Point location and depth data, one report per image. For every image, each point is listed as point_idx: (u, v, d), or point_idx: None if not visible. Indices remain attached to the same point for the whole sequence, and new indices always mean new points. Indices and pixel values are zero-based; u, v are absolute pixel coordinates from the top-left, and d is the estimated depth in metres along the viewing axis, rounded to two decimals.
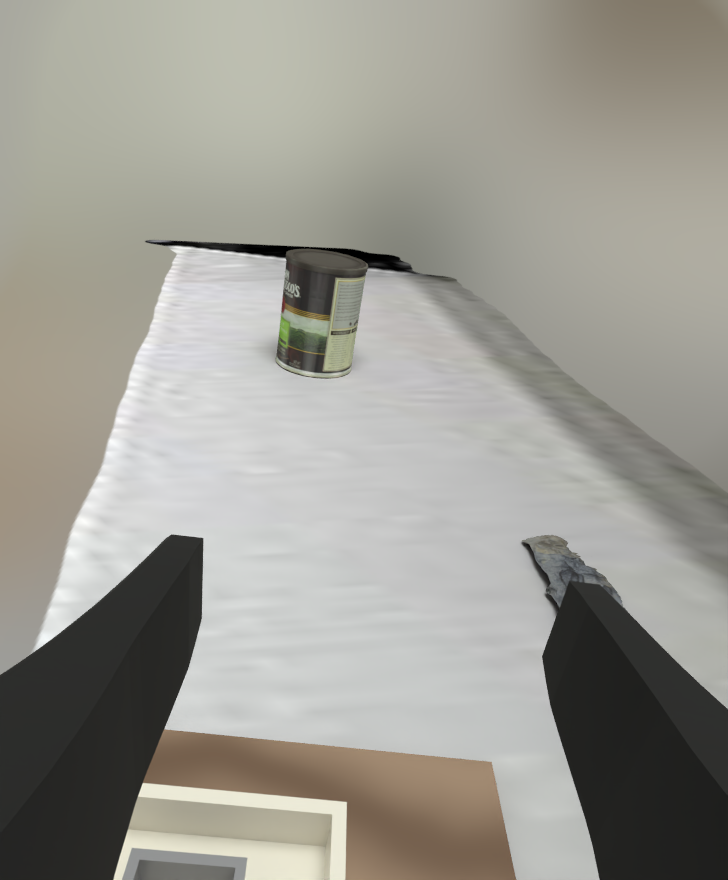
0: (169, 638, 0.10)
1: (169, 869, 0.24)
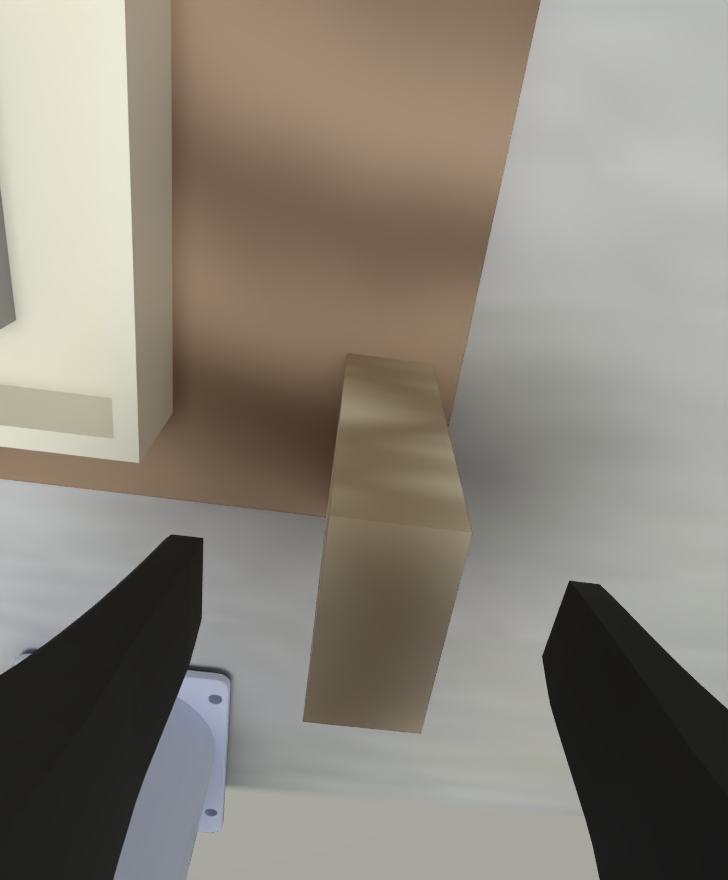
0: (168, 638, 0.10)
1: None
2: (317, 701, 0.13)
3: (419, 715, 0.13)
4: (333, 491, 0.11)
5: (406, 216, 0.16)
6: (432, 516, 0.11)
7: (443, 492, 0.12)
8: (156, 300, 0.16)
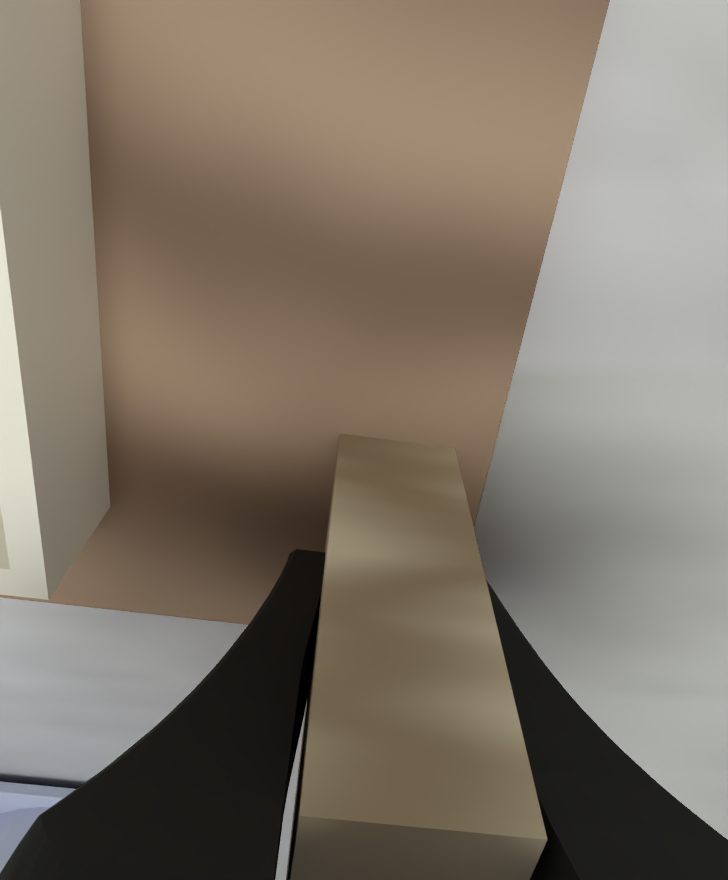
0: (310, 653, 0.11)
1: None
2: None
3: None
4: (308, 744, 0.07)
5: (421, 254, 0.11)
6: (475, 796, 0.06)
7: (489, 729, 0.07)
8: (70, 374, 0.11)
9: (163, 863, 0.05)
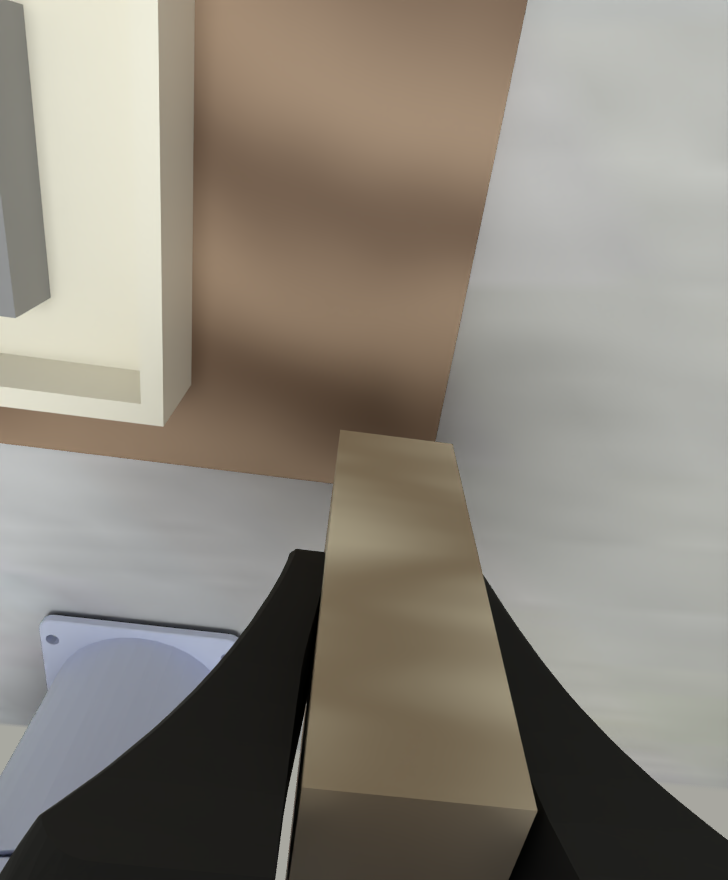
0: (310, 654, 0.11)
1: None
2: None
3: None
4: (310, 721, 0.07)
5: (405, 203, 0.18)
6: (470, 770, 0.07)
7: (483, 709, 0.08)
8: (179, 278, 0.17)
9: (163, 863, 0.05)
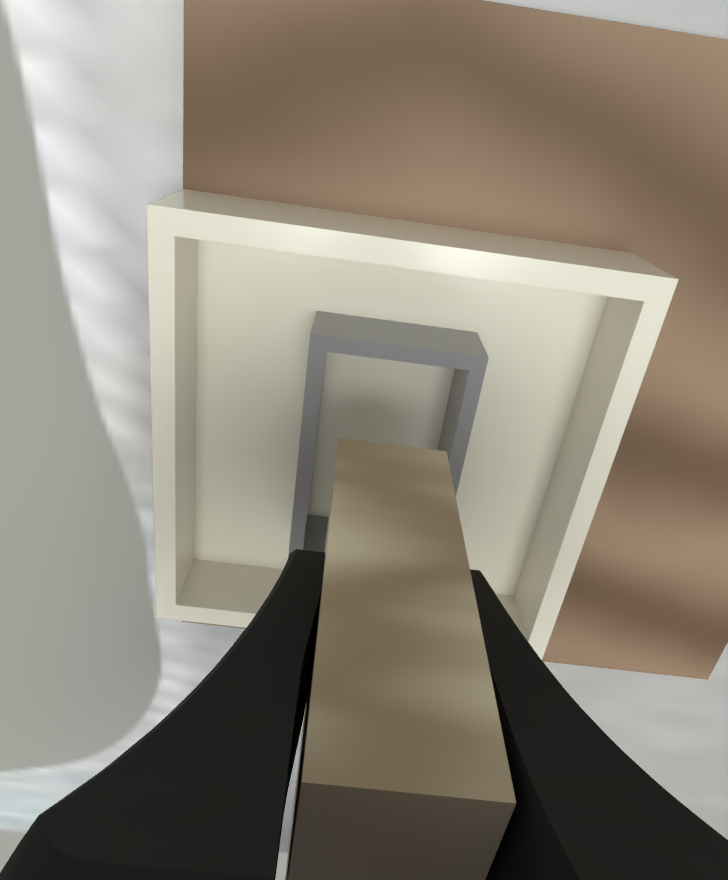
0: (310, 653, 0.11)
1: None
2: None
3: None
4: (309, 721, 0.08)
5: None
6: (455, 766, 0.07)
7: (469, 709, 0.08)
8: None
9: (165, 863, 0.05)
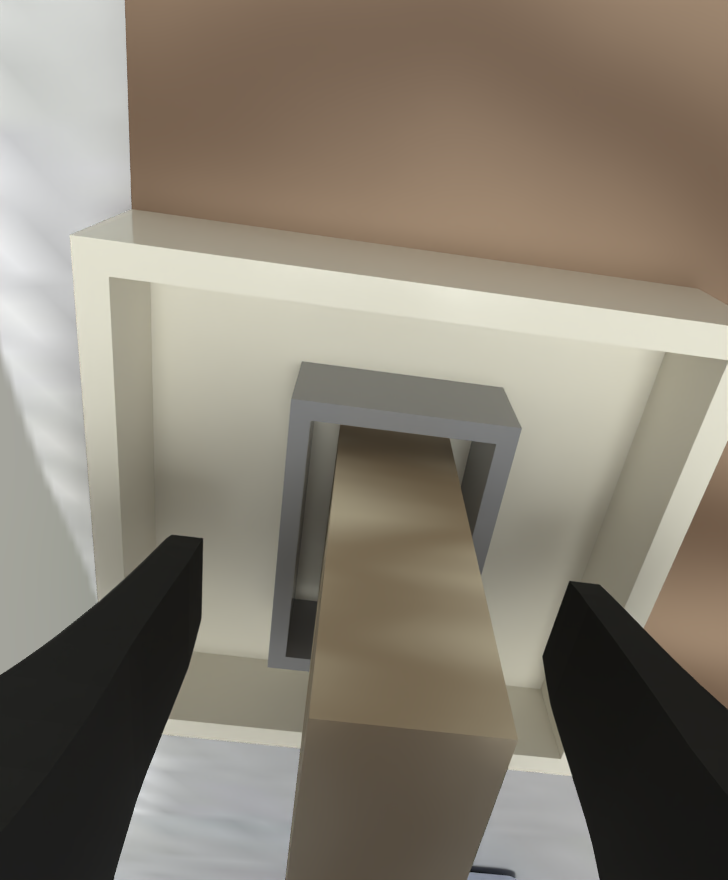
0: (168, 638, 0.10)
1: None
2: None
3: None
4: (315, 665, 0.08)
5: None
6: (459, 706, 0.08)
7: (471, 656, 0.08)
8: None
9: None
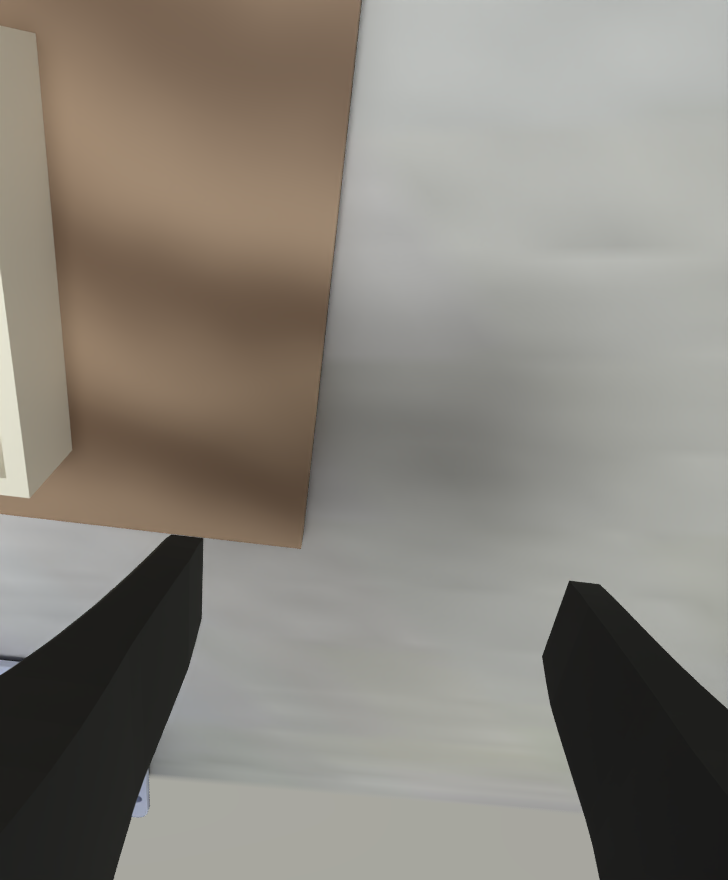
0: (168, 638, 0.10)
1: None
2: None
3: None
4: None
5: (255, 290, 0.19)
6: None
7: None
8: (42, 362, 0.19)
9: None
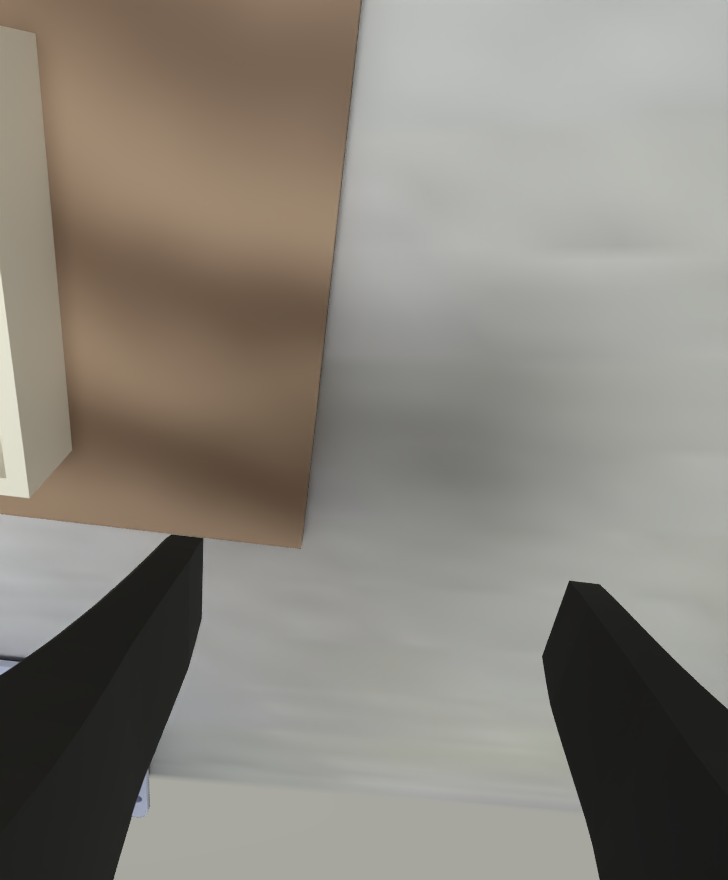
0: (168, 638, 0.10)
1: None
2: None
3: None
4: None
5: (255, 290, 0.19)
6: None
7: None
8: (42, 362, 0.19)
9: None
